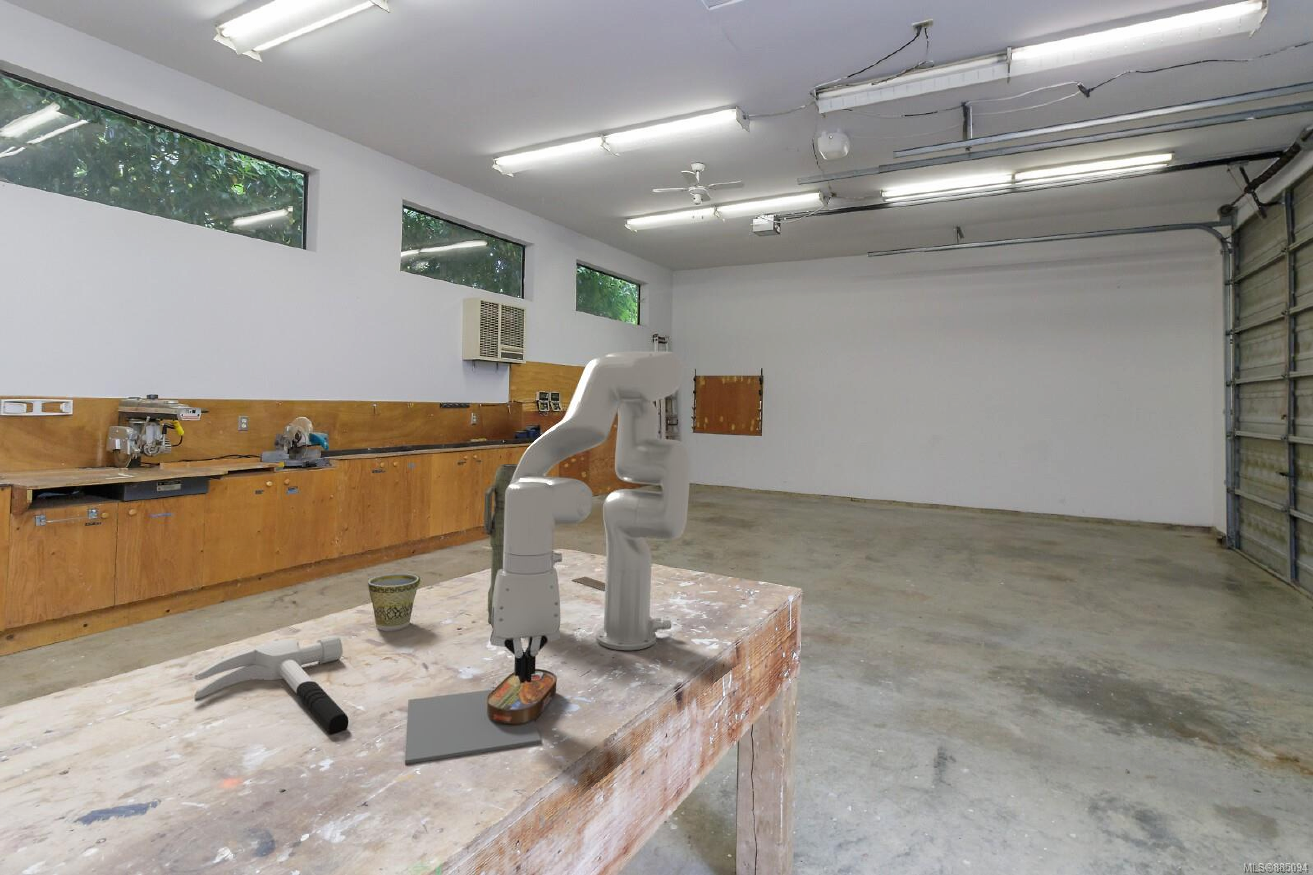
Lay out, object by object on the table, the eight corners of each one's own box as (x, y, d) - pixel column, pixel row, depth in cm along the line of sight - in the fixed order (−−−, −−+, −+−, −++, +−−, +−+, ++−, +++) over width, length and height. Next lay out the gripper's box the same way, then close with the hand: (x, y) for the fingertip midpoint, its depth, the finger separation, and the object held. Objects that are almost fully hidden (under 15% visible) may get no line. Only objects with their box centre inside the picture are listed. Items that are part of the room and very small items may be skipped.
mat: (522, 688, 105) (522, 686, 105) (540, 743, 88) (540, 739, 88) (408, 702, 99) (408, 699, 99) (405, 764, 82) (405, 760, 82)
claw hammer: (403, 687, 96) (333, 628, 116) (234, 738, 80) (188, 659, 100) (402, 721, 96) (332, 656, 117) (234, 779, 80) (188, 691, 101)
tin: (529, 712, 91) (476, 701, 92) (527, 733, 91) (474, 721, 92) (564, 672, 105) (518, 662, 107) (562, 690, 106) (517, 680, 107)
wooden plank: (572, 578, 172) (585, 574, 176) (571, 583, 172) (585, 578, 176) (613, 593, 161) (626, 588, 165) (613, 597, 161) (626, 592, 165)
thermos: (541, 619, 140) (546, 465, 138) (496, 632, 131) (500, 467, 130) (519, 610, 146) (523, 462, 144) (474, 621, 137) (478, 464, 136)
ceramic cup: (394, 636, 126) (394, 588, 126) (356, 629, 130) (357, 582, 129) (436, 617, 139) (437, 573, 138) (401, 611, 142) (402, 568, 142)
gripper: (570, 554, 101) (566, 664, 102) (475, 559, 96) (472, 675, 97) (581, 565, 94) (577, 683, 95) (480, 571, 89) (476, 696, 90)
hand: (524, 678), depth 96 cm, fingers closed
